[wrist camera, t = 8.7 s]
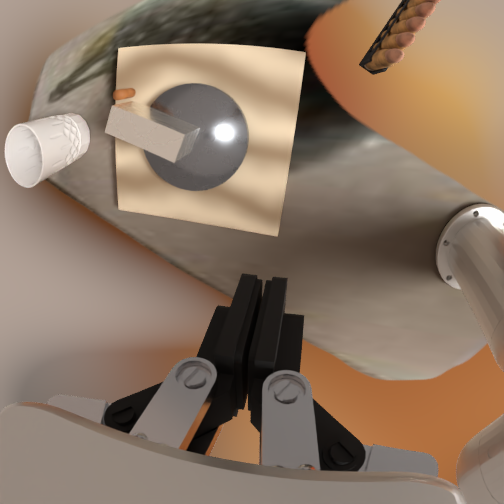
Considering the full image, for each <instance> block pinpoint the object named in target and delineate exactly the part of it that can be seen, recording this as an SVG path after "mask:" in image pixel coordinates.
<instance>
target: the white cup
mask: <svg viewBox="0 0 504 504" xmlns="http://www.w3.org/2000/svg"><path fill="white" fill-rule="evenodd" d="M89 143H90V131H89V128H88V125H87V123H86V121H85V120H84V119H83V118H82V117H81V116H80V115H78V114H74V113H68V114H64V115H55V116H50V117H45V118H41V119H37V120H33V121H29V122H25V123H21V124H17V125H15V126H14V127H13V128H12V129H11V130H10V131H9V133H8V135H7V138H6V142H5V159H6V164H7V168H8V170H9V172H10V174H11V176H12V177H13V179H14V180H15V181H16V182H17V183H18V184H19V185H21V186H22V187H25V188H30V187H33V186H35V185H37V184H38V183H40V182H41V181H43V180H45V179H46V178H48V177H50V176H51V175H53V174H55V173H56V172H58V171H60V170H61V169H62V168H64V167H66V166H68V165H69V164H70V163H72V162H73V161H75V160H77V159H79V158H81V157H82V156H83V155H84V154H85V153H86V151H87V149H88V146H89Z"/></svg>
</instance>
